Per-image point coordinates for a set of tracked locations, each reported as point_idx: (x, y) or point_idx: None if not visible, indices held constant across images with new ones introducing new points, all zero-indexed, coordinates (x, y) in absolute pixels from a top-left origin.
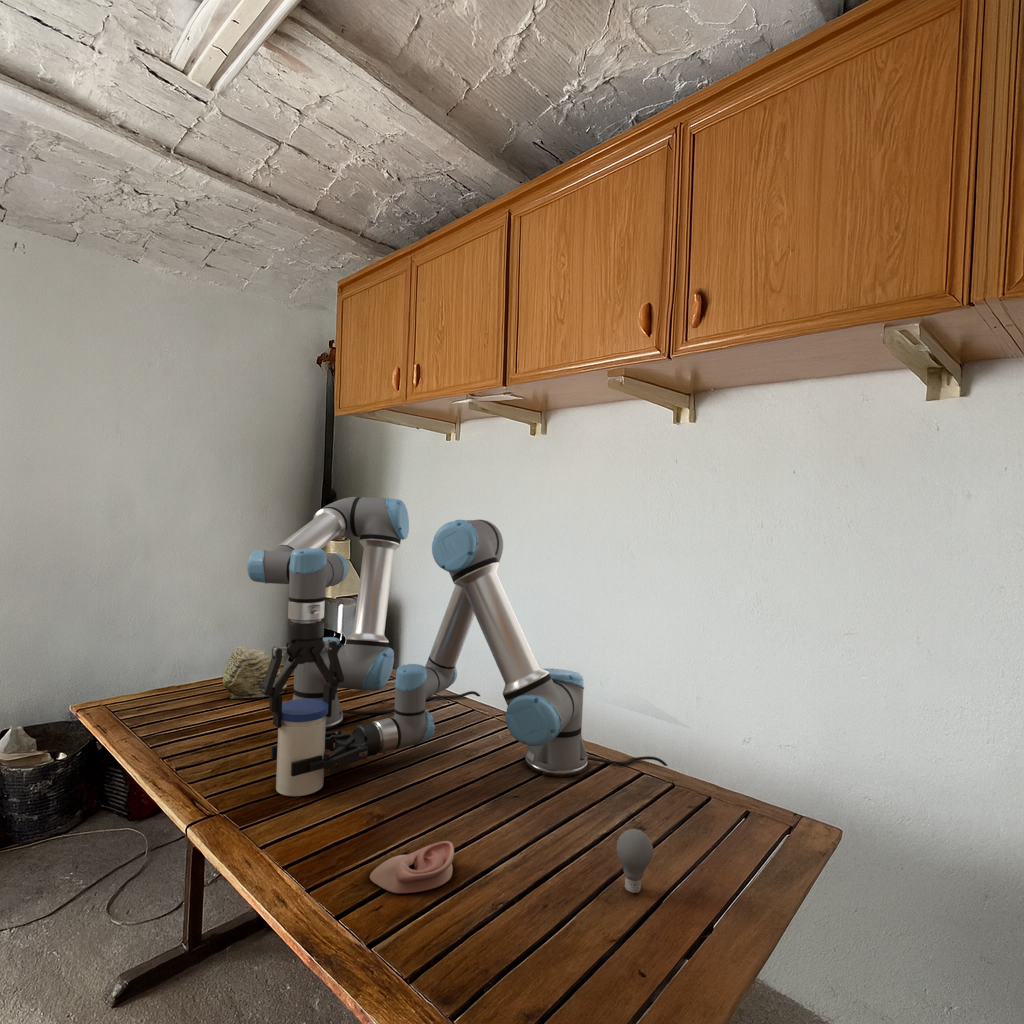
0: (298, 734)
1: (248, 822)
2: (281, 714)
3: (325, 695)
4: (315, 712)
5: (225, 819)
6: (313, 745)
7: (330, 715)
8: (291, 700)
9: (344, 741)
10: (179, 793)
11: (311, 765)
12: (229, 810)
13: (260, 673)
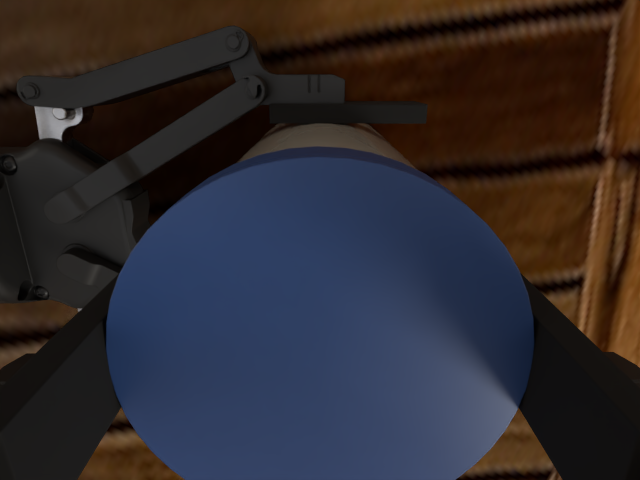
0: (408, 165)
1: (577, 35)
2: (535, 315)
3: (82, 418)
4: (295, 167)
5: (616, 105)
6: (310, 131)
7: None
8: None
9: (104, 224)
10: (617, 345)
11: (339, 77)
12: (575, 159)
13: None
